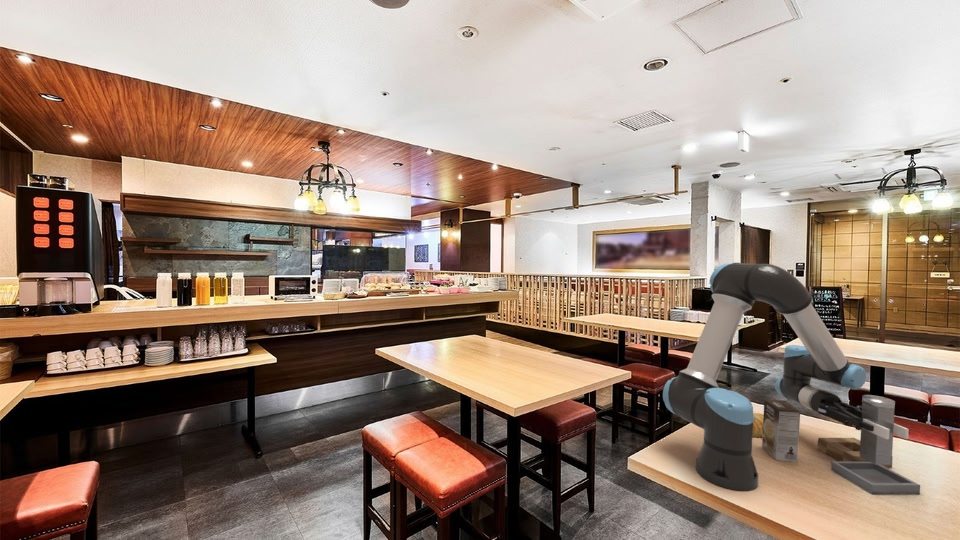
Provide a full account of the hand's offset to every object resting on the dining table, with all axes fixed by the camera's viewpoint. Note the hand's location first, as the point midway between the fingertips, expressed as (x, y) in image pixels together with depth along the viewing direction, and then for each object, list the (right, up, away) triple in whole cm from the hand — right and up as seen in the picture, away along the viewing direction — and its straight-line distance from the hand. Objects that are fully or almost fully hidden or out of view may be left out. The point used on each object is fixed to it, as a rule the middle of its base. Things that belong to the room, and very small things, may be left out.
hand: (897, 434), depth 106 cm
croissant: (-12, -15, +37) cm, 41 cm away
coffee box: (-16, -15, +21) cm, 30 cm away
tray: (-1, -16, +6) cm, 17 cm away
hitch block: (+6, -15, +19) cm, 25 cm away
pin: (0, -10, +6) cm, 11 cm away
